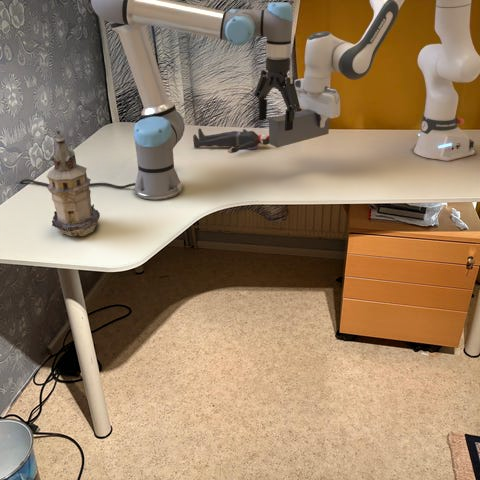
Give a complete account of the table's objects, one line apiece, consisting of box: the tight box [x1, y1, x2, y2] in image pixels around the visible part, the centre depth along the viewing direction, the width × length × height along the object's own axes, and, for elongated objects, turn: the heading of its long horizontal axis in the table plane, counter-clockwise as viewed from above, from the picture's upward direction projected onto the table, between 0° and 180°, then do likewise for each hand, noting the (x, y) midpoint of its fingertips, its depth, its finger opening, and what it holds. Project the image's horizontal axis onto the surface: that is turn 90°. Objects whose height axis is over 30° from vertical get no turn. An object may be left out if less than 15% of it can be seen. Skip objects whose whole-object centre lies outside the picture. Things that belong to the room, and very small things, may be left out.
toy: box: [192, 128, 270, 155], centre depth 214 cm, size 26×6×30 cm
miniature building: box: [46, 129, 101, 237], centre depth 148 cm, size 13×14×30 cm
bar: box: [268, 109, 330, 148], centre depth 181 cm, size 23×5×9 cm, turn 125°
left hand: (275, 124), depth 176 cm, fingers open, 13 cm apart
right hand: (315, 124), depth 185 cm, fingers closed on bar, 5 cm apart
